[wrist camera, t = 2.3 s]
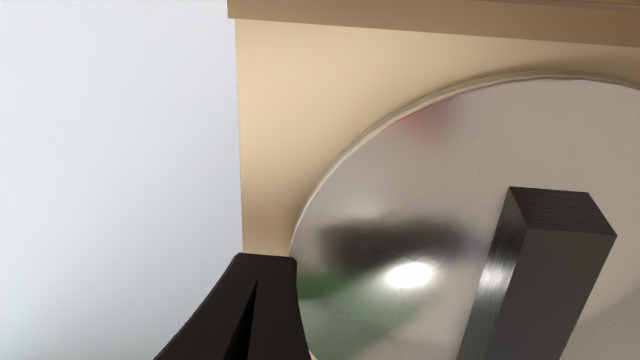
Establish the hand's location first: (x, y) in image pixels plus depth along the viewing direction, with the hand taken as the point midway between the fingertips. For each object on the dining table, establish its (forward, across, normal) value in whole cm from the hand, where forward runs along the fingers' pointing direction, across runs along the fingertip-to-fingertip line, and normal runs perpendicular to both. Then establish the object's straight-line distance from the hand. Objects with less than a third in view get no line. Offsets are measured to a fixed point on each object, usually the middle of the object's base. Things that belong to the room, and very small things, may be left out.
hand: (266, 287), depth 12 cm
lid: (+1, -6, 0) cm, 6 cm away
